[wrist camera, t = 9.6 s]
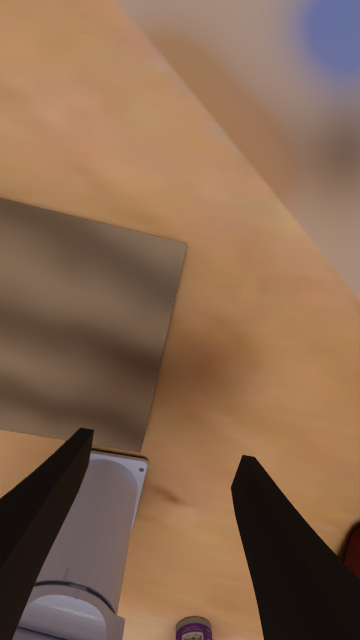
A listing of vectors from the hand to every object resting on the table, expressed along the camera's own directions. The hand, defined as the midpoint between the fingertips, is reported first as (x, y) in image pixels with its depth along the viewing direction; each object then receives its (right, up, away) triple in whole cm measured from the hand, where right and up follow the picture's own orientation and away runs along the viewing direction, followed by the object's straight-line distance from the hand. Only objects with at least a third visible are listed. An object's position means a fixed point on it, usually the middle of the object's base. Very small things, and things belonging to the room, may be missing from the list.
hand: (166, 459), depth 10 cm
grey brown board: (-15, +7, +8) cm, 18 cm away
